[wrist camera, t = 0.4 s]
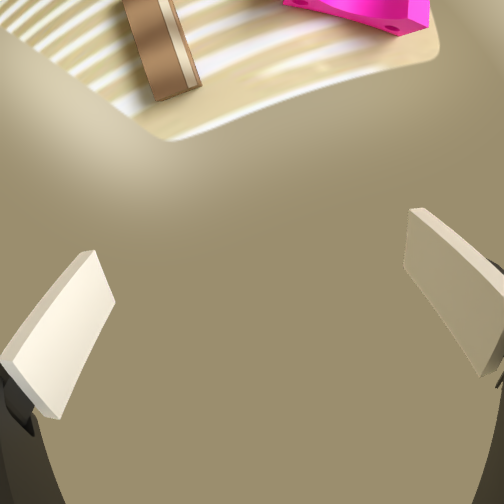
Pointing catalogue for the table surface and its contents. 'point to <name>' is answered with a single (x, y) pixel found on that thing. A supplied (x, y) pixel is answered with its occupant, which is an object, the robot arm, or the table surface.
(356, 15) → the toy block
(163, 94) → the walnut plank
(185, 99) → the table surface
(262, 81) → the table surface
